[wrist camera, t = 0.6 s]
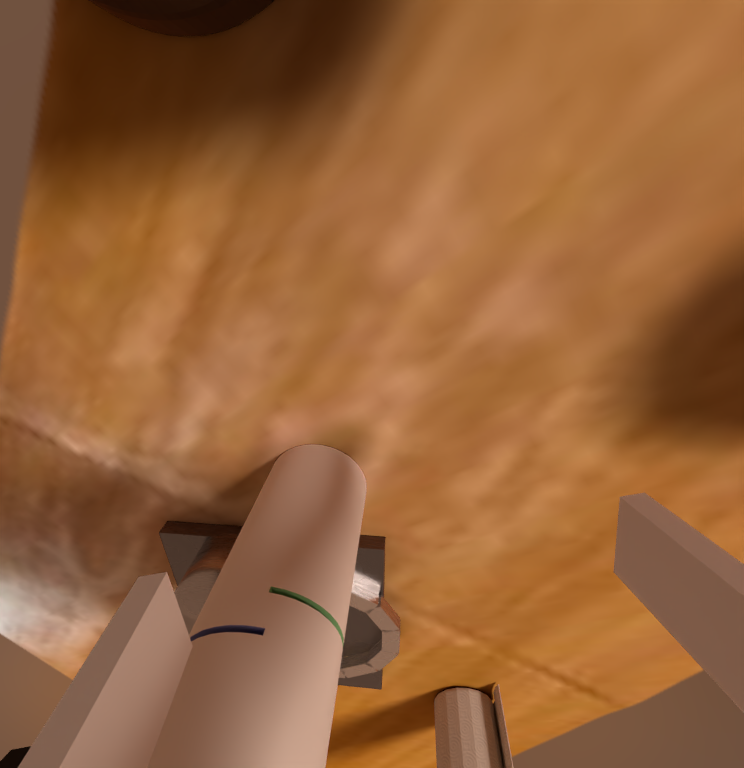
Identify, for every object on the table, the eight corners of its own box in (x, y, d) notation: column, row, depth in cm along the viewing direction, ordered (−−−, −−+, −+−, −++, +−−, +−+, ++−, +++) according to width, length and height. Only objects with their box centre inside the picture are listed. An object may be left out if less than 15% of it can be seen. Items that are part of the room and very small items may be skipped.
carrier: (165, 516, 31) (92, 615, 24) (404, 533, 30) (402, 645, 23) (213, 658, 41) (170, 760, 33) (396, 677, 39) (393, 788, 32)
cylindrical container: (263, 443, 27) (-400, 1588, 5) (364, 445, 26) (115, 1794, 4) (279, 517, 30) (-81, 1412, 8) (368, 521, 30) (241, 1513, 7)
